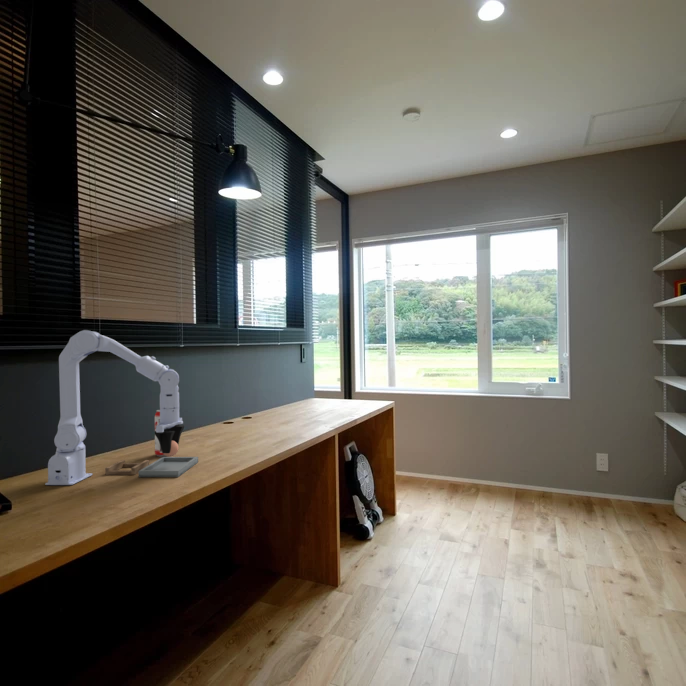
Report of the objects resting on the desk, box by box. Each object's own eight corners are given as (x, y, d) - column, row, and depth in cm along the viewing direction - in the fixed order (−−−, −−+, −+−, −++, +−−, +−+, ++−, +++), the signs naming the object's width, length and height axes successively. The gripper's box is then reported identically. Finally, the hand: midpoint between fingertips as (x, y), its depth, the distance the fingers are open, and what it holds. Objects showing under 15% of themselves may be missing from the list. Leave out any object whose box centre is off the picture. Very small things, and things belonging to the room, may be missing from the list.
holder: (134, 474, 129) (134, 468, 129) (105, 474, 129) (105, 468, 129) (148, 466, 138) (148, 460, 138) (121, 466, 138) (121, 460, 138)
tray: (178, 477, 126) (178, 470, 126) (138, 477, 126) (138, 471, 126) (198, 462, 142) (198, 456, 142) (162, 462, 142) (162, 456, 142)
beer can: (153, 457, 148) (153, 411, 148) (156, 453, 154) (155, 409, 154) (172, 456, 150) (172, 410, 150) (174, 452, 156) (174, 408, 156)
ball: (174, 458, 131) (174, 442, 131) (158, 458, 131) (158, 442, 131) (181, 454, 136) (180, 438, 136) (165, 454, 136) (165, 438, 136)
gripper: (172, 411, 127) (172, 456, 127) (190, 404, 141) (191, 445, 141) (148, 411, 127) (149, 456, 127) (170, 404, 141) (170, 445, 141)
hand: (170, 450), depth 134 cm, fingers closed on ball, 5 cm apart
